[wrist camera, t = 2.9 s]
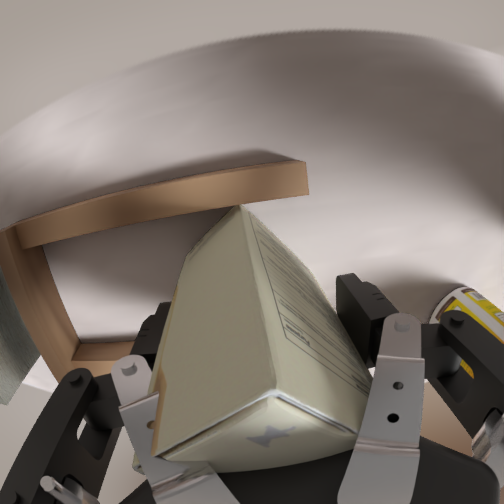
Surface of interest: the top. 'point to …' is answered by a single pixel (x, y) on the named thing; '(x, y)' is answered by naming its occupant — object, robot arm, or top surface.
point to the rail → (110, 216)
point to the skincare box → (253, 358)
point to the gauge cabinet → (13, 345)
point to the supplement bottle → (472, 313)
